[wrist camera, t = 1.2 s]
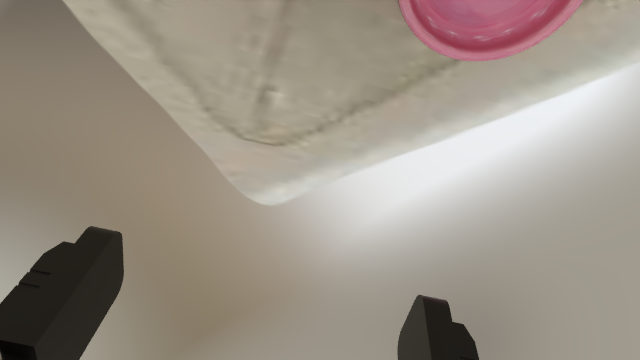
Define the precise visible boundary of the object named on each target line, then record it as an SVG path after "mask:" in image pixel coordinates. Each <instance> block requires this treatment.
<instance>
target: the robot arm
mask: <svg viewBox="0 0 640 360" xmlns="http://www.w3.org/2000/svg"><path fill="white" fill-rule="evenodd" d="M122 244H123V243H122V234H121V233H120V232H117V231H112V230H108V229H102V228H98V227H93V226H90V227H88V228H87V229H86V230H85V231H84V233H83V234H82V235H81V236H80V238H79V239H78V240H77V241H76V243H75V244H74V243H69V242H62V243H60V244H59V245H57V246H56V247H54V248H52V249H51V250H49V251H47V252H46V253H44V254H43V255H42V256H41V257H40V259H39V260H38V261H37V262H36V263H35V264H34V265H33V267H32V268H31V269H30V272H27V274H26V275H25V276H24V277H23V278H22V279H21V280H20V282H19V285H18V286H17V285H16V286H15V287H14V289H13V290H12V291H11V292H10V293H9V295H8V296H7V297H6V298H5V299H4V300H3V301H2V302H1V304H0V360H79V359H80V357H81V356H82V354H83V352H84V351H85V349H86V347H87V345H88V344H89V342H90V341H91V339H92V337H93V336H94V334H95V332H96V331H97V329H98V327H99V326H100V324H101V322H102V320H103V319H104V317H105V315H106V314H107V312H108V310H109V308H110V307H111V305H112V304H113V302H114V300H115V299H116V297H117V295H118V293H119V291H120V288H121V285H122V281H123V276H124V268H123V267H124V266H123V245H122ZM398 360H479V357H478V353H477V349H476V345H475V341H474V340H473V338H472V337H471V336H470V334H469V332H468V331H467V329H466V328H465V326H464V325H463V324H460V323H455V322H452V318H451V313H450V308H449V304H448V302H447V301H446V300H441V299H437V298H432V297H427V296H423V295H418V296H417V297H416V299H415V301H414V303H413V306H412V308H411V310H410V312H409V314H408V316H407V319H406V321H405V323H404V325H403V327H402V329H401V332H400V336H399V341H398Z"/></svg>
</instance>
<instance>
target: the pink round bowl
mask: <svg viewBox="0 0 640 360" xmlns="http://www.w3.org/2000/svg"><path fill="white" fill-rule="evenodd" d="M398 2H399V6H400V9H401V11H402V14H403V16H404V18H405V21H406V22H407V24H408V26H409V27H410V29H411V30H412V31H413V33H414V34H415V35H416V36H417V37H418V38H419V39H420V40H421V41H422V42H423V43H424V44H425V45H427V46H428V47H429V48H431V49H432V50H434V51H436V52H438V53H440V54H442V55H444V56H447V57H450V58H454V59H458V60H465V61H488V60H495V59H500V58H504V57H508V56H511V55H514V54H517V53H519V52H522V51H524V50H526V49H528V48H530V47H532V46H534V45H536V44H537V43H539V42H541V41H542V40H544V39H545V38H547V37H548V36H550V35H551V34H552V33H553V32H555V31H556V30H557V29H558V28H559V27H561V26H562V25H563V24H564V23H565V22H566V21H567V20H568V19H569V18H570V16H571V15H572V14H573V13H574V12H575V11H576V9H577V8H578V7H579V6H580V4H581V3H582V2H583V0H398Z"/></svg>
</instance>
